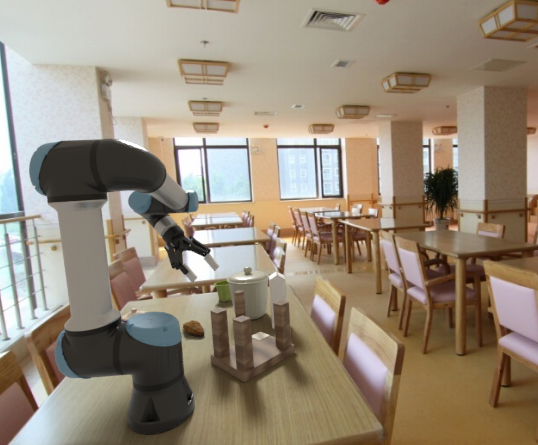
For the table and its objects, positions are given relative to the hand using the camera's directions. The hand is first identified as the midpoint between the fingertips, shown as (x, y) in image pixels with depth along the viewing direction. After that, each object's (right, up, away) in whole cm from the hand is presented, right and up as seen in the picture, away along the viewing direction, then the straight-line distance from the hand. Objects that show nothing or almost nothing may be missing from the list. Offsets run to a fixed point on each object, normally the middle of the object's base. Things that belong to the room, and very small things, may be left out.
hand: (206, 274), depth 113 cm
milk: (+26, -21, +10) cm, 35 cm away
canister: (+15, -21, +22) cm, 34 cm away
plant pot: (+1, -20, +44) cm, 49 cm away
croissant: (-7, -24, +8) cm, 26 cm away
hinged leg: (+13, -20, -6) cm, 25 cm away
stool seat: (+18, -24, -14) cm, 33 cm away
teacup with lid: (-26, -25, +6) cm, 36 cm away
